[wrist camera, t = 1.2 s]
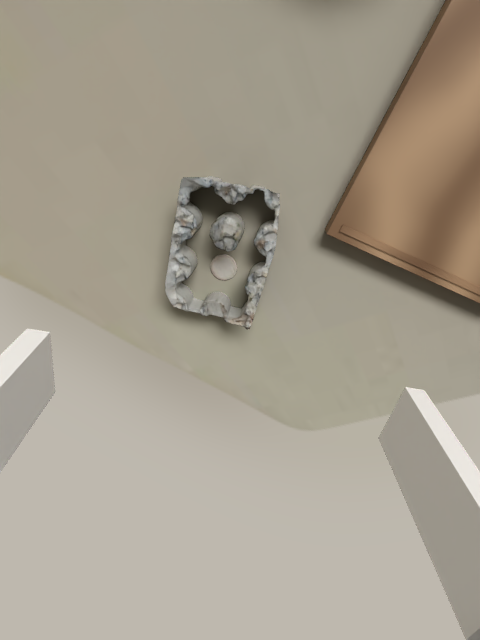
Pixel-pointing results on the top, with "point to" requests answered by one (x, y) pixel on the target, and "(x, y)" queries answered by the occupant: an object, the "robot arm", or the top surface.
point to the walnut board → (426, 164)
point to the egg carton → (224, 237)
